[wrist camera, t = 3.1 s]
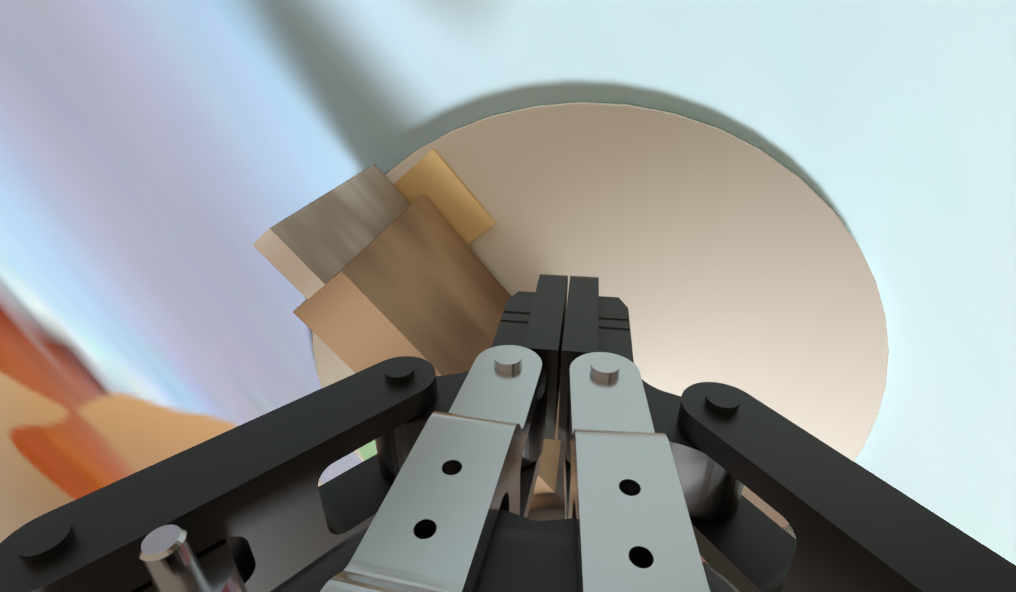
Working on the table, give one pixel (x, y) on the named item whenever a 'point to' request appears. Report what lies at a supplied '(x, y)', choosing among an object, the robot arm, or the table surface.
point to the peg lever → (397, 291)
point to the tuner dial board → (670, 254)
